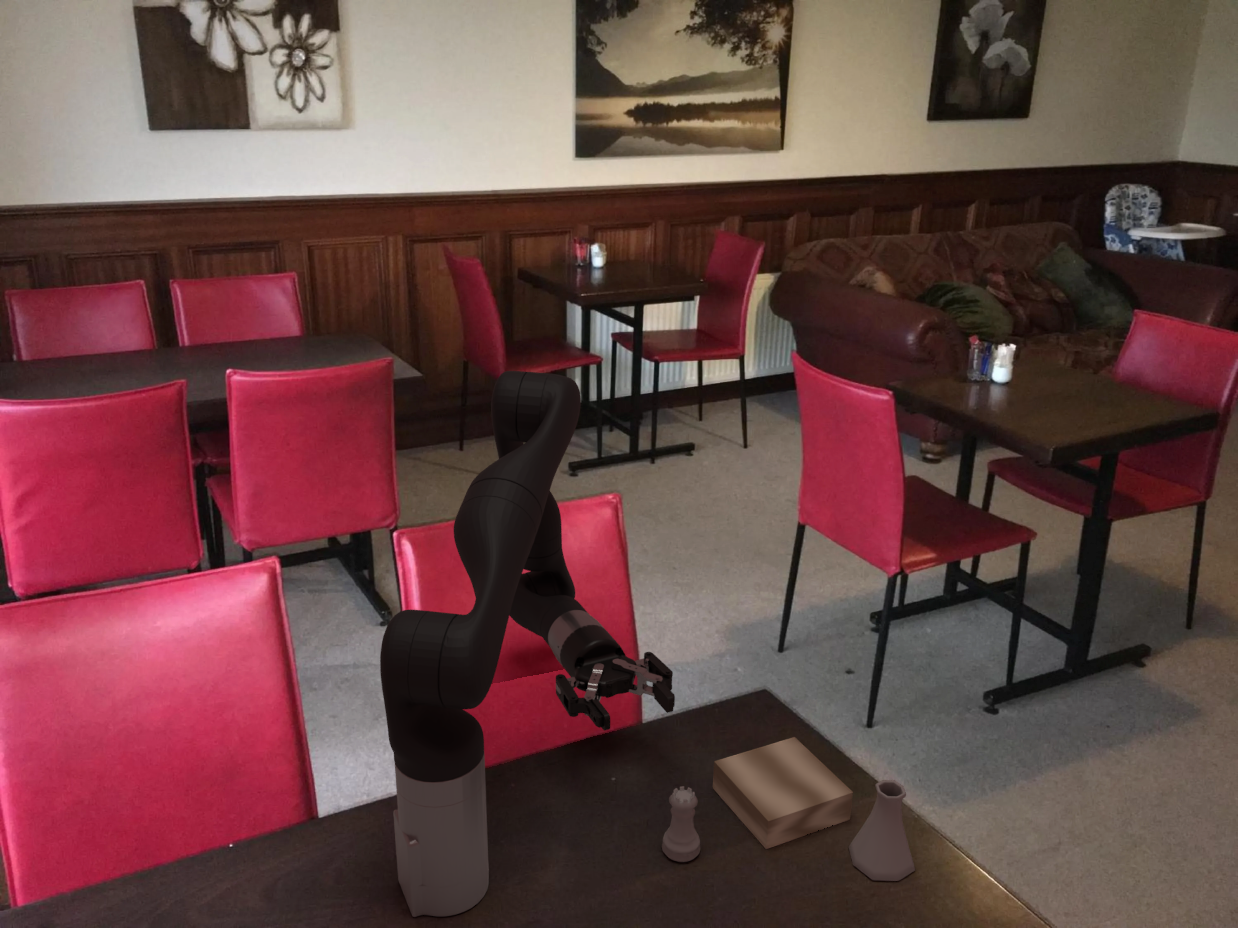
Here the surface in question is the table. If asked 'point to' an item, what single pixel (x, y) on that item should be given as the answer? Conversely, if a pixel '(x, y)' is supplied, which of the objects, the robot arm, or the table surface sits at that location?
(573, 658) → the robot arm
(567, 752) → the table surface
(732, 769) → the maple plinth
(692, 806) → the rook chess piece
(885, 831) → the flask
